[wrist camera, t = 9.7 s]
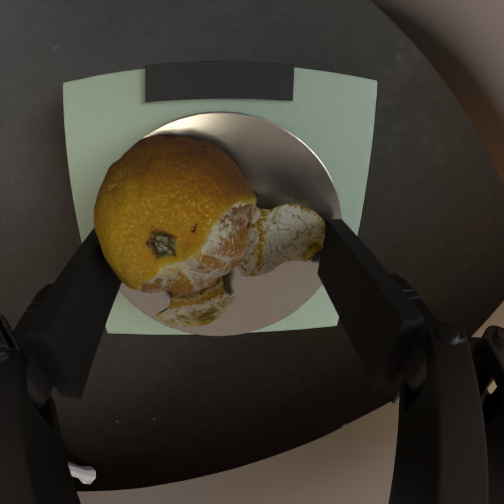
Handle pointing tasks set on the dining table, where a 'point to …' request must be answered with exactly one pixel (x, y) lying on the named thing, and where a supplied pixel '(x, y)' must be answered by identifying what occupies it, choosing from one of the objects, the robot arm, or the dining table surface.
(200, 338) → the dining table surface
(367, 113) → the scale
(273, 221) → the fruit
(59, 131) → the dining table surface
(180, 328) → the scale pan
